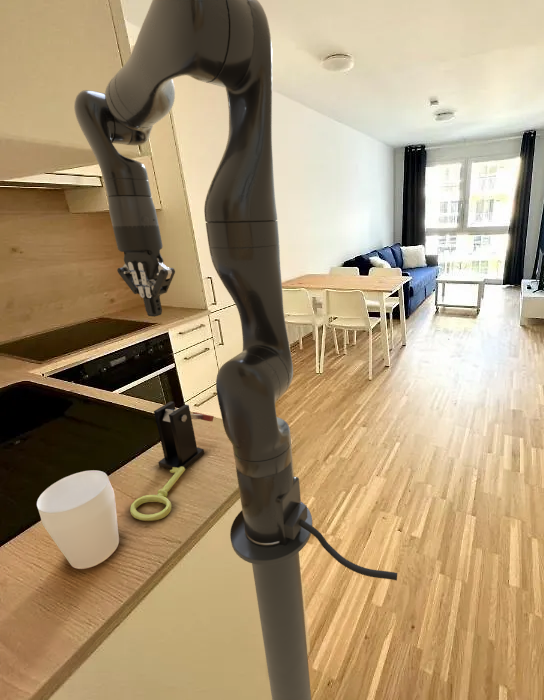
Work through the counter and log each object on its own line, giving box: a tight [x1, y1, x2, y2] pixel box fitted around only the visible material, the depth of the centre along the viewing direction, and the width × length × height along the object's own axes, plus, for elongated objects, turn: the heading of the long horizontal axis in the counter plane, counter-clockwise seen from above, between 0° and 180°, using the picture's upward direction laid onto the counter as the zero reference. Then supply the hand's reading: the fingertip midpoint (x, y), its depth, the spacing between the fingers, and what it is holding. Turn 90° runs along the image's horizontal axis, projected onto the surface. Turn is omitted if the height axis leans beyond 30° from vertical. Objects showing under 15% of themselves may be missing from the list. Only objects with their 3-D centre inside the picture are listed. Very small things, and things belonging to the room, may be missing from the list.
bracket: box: [153, 401, 205, 471], centre depth 75 cm, size 7×6×13 cm
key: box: [129, 466, 186, 522], centre depth 67 cm, size 7×12×2 cm, turn 6°
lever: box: [163, 408, 214, 422], centre depth 78 cm, size 11×5×2 cm
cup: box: [36, 469, 120, 570], centre depth 55 cm, size 9×9×12 cm
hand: (154, 315), depth 72 cm, fingers closed
